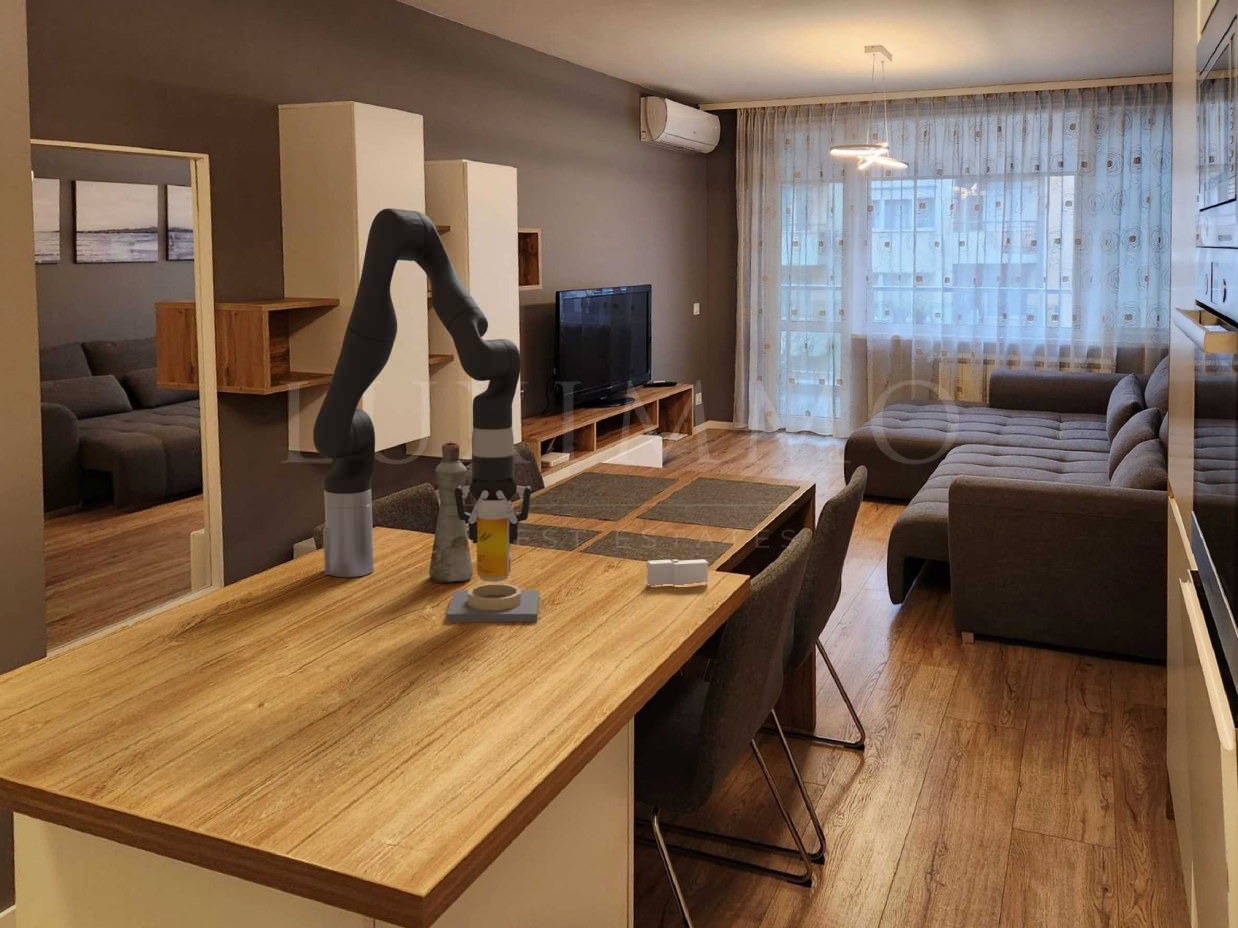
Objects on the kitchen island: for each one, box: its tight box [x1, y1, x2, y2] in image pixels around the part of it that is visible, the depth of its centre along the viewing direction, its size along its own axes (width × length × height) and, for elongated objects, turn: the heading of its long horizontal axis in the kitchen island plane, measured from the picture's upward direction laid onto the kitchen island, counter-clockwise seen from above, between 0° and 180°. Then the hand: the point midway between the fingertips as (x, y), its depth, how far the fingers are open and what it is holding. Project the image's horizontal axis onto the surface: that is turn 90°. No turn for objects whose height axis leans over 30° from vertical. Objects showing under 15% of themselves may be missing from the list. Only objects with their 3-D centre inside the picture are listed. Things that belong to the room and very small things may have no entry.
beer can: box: [475, 500, 512, 583], centre depth 201 cm, size 6×6×15 cm
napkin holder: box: [646, 558, 709, 586], centre depth 220 cm, size 15×11×6 cm
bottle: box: [428, 441, 474, 583], centre depth 220 cm, size 9×9×28 cm
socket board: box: [446, 582, 540, 623], centre depth 204 cm, size 16×14×4 cm
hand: (493, 542), depth 202 cm, fingers closed on beer can, 6 cm apart
